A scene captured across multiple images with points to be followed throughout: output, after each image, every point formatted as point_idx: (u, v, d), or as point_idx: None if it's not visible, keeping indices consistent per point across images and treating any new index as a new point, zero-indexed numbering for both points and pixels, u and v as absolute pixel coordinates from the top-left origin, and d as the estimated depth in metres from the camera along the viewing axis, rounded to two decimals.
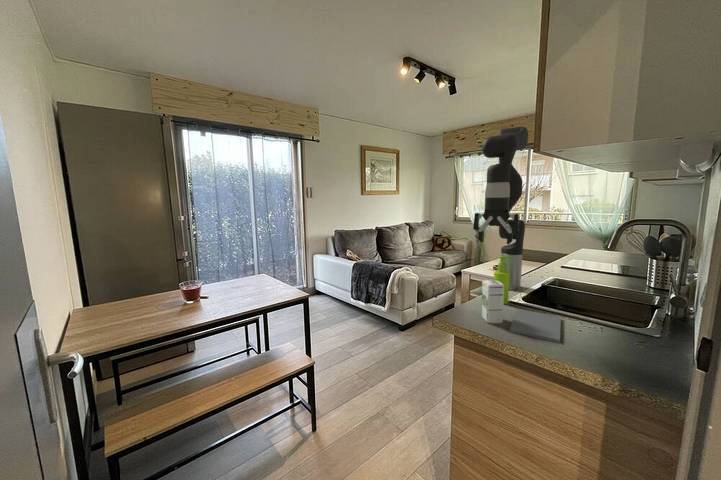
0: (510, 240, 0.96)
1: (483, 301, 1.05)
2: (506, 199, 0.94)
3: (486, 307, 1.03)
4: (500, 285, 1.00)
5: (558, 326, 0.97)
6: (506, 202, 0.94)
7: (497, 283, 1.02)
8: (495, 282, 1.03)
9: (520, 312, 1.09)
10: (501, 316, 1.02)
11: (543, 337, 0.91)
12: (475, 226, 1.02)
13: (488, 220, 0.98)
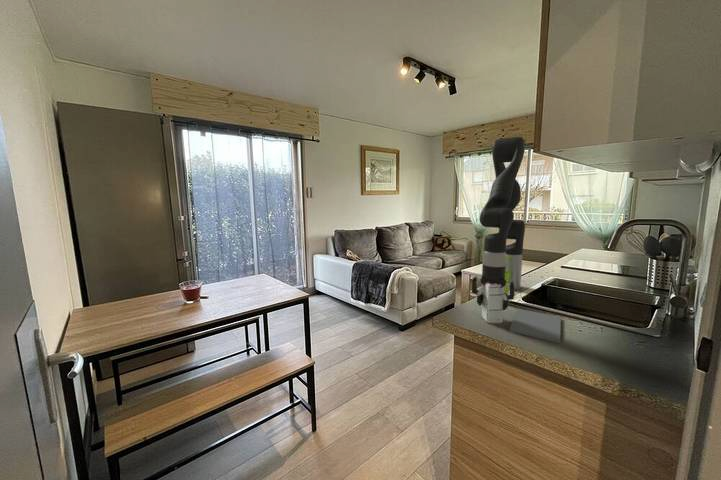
0: (506, 306, 1.01)
1: (483, 301, 1.05)
2: (502, 268, 0.98)
3: (486, 307, 1.03)
4: (500, 285, 1.00)
5: (558, 326, 0.97)
6: (502, 271, 0.99)
7: None
8: None
9: (520, 312, 1.09)
10: (501, 316, 1.02)
11: (543, 337, 0.91)
12: (473, 290, 1.06)
13: (485, 285, 1.03)
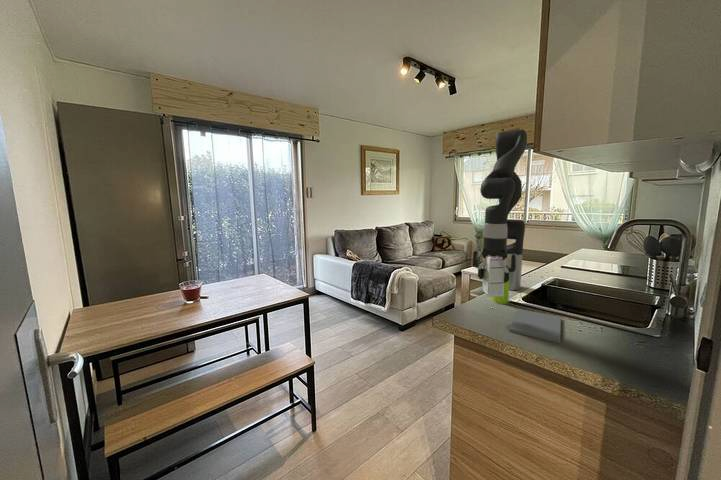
0: (507, 279, 0.99)
1: (484, 275, 1.04)
2: (504, 240, 0.97)
3: (487, 280, 1.01)
4: (501, 257, 0.99)
5: (558, 326, 0.97)
6: (504, 243, 0.97)
7: None
8: None
9: (520, 312, 1.09)
10: (502, 290, 1.01)
11: (543, 337, 0.91)
12: (474, 263, 1.05)
13: (486, 258, 1.01)
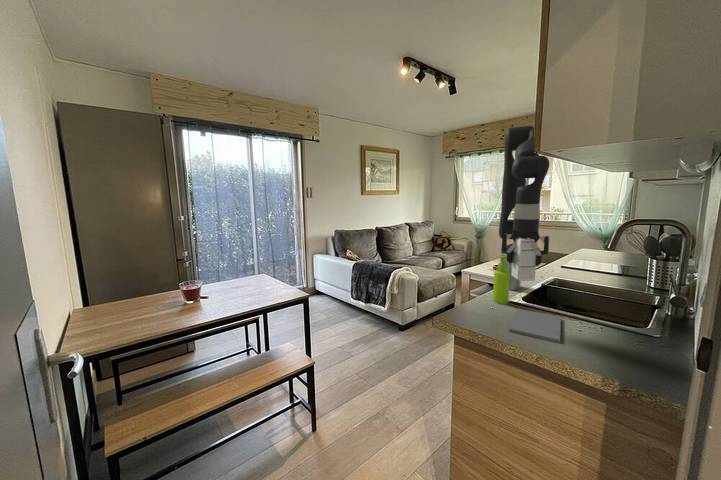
0: (539, 262, 0.95)
1: (513, 258, 1.00)
2: (536, 221, 0.93)
3: (517, 264, 0.97)
4: (533, 240, 0.95)
5: (558, 326, 0.97)
6: (536, 224, 0.93)
7: None
8: None
9: (520, 312, 1.09)
10: (533, 274, 0.97)
11: (543, 337, 0.91)
12: (503, 247, 1.01)
13: None
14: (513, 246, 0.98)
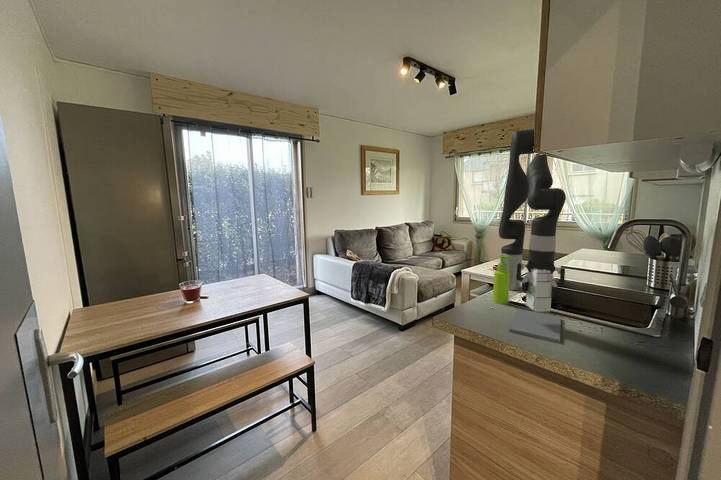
0: (555, 293, 0.95)
1: (529, 288, 1.00)
2: (552, 253, 0.93)
3: (533, 294, 0.97)
4: (549, 271, 0.95)
5: (558, 326, 0.97)
6: (552, 256, 0.93)
7: None
8: None
9: (520, 312, 1.09)
10: (549, 304, 0.96)
11: (543, 337, 0.91)
12: (518, 277, 1.00)
13: None
14: (528, 276, 0.98)
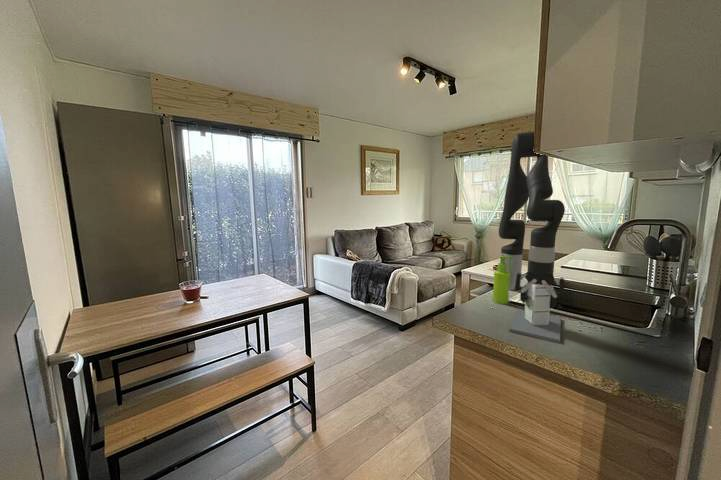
0: (555, 304, 0.95)
1: (527, 302, 1.01)
2: (552, 264, 0.93)
3: (531, 308, 0.98)
4: None
5: (558, 326, 0.97)
6: (551, 267, 0.94)
7: None
8: None
9: (520, 312, 1.09)
10: (547, 318, 0.97)
11: (543, 337, 0.91)
12: (517, 286, 1.01)
13: (531, 282, 0.98)
14: (527, 287, 0.99)
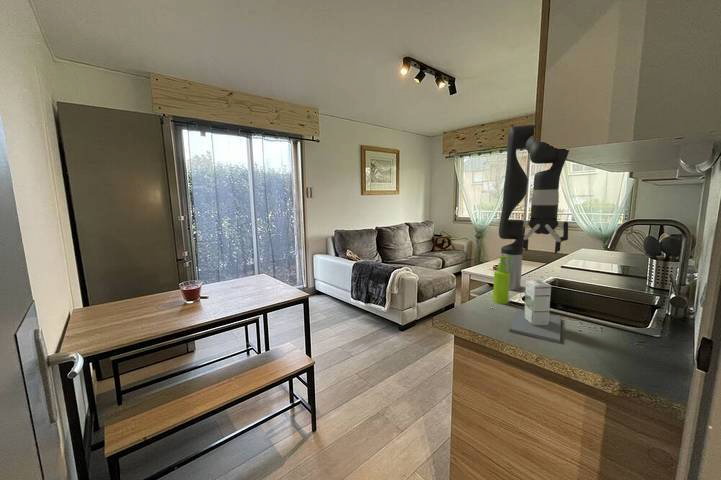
0: (558, 249, 0.93)
1: (527, 302, 1.01)
2: (555, 207, 0.91)
3: (531, 308, 0.98)
4: (547, 285, 0.96)
5: (558, 326, 0.97)
6: (555, 210, 0.91)
7: (543, 283, 0.97)
8: (541, 282, 0.98)
9: (520, 312, 1.09)
10: (547, 318, 0.97)
11: (543, 337, 0.91)
12: (520, 234, 0.99)
13: (535, 228, 0.95)
14: (530, 233, 0.96)
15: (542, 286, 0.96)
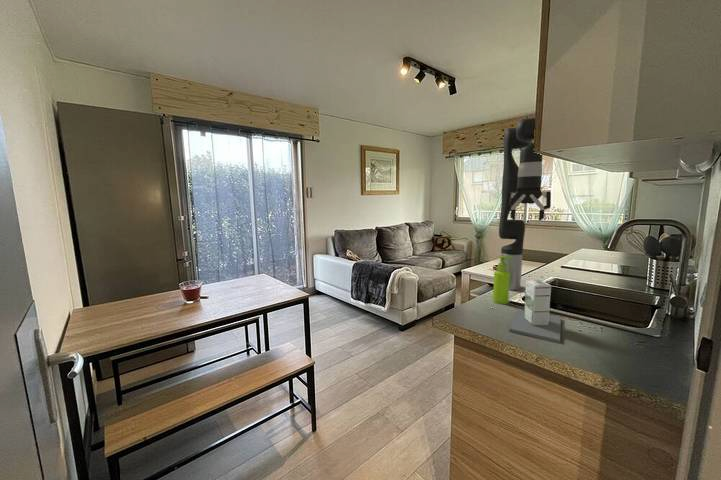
0: (542, 216, 1.02)
1: (527, 302, 1.01)
2: (539, 178, 1.00)
3: (531, 308, 0.98)
4: (547, 285, 0.96)
5: (558, 326, 0.97)
6: (539, 180, 1.01)
7: (543, 283, 0.97)
8: (541, 282, 0.98)
9: (520, 312, 1.09)
10: (547, 318, 0.97)
11: (543, 337, 0.91)
12: (507, 204, 1.08)
13: (521, 198, 1.05)
14: (517, 203, 1.06)
15: (542, 286, 0.96)
